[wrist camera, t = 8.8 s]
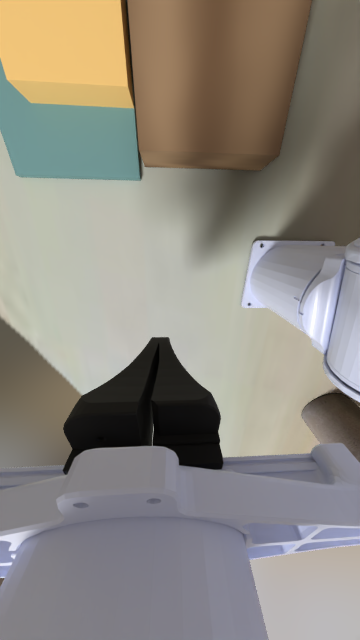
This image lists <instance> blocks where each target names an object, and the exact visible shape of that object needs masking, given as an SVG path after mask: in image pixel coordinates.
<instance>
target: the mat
mask: <svg viewBox="0 0 360 640" xmlns="http://www.w3.org/2000/svg"><path fill="white" fill-rule="evenodd" d="M126 11H127V0H126ZM127 24H128V12H127ZM128 37H129V25H128ZM129 50H130V38H129ZM130 63H131V50H130ZM131 75H132V63H131ZM132 88H133V76H132ZM133 101H134V89H133ZM0 130H1V133H2V136H3V139H4V142H5V145H6V147H7V150H8V153H9V156H10V159H11V162H12V165H13V168H14V170H15V173H16V175H17V176H19V177H33V178H69V179H104V180H140V181H141V178H140V165H139V153H138V140H137V127H136V114H135V102H134V108H117V107H97V106H78V105H59V104H40V103H30V102H29V101H28V100H27V99H26V98H25V97H24V96H23V95H22V94H21V93H20V92H19V91H18V90H17V89H16V88H15V87H14V86H13V85H12V84H11V83H10V82H9V81H8V80H7V78H6V75H5V72H4V69H3V65H2V62H1V59H0Z"/></svg>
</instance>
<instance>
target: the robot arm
mask: <svg viewBox="0 0 360 640" xmlns="http://www.w3.org/2000/svg"><path fill="white" fill-rule="evenodd" d="M261 243H262V244H263V246H262V247H260V244H261ZM321 244H322V246H321ZM248 303H250V304H249V305H247V304H248ZM241 306H242V307H243V308H269V309H271V310H272V311H274V312H275V313H276V314H278V315H279V316H281V317H282V318H284V319H285V320H287V321H288V322H289V323H291V324H292V325H294V326H295V327H297V328H298V329H300V330H301V331H303V332H304V333H305V334H307V335H308V336H309V337H310V338H311V340H312V346H313V347H315V348H316V349H317V350H319V351H320V352H322V353H323V354H325V355H324V358H323V369H324V371H325V374H326V375H327V377H328V378H329V379H330V380H331V382H332V383H333V384H334V385H335V386H336V387H338V388H339V389H340V390H341V391H342V392H344V393H345V394H347V395H348V396H350V397H351V398H353V399H355V400H356V401H358V402H360V237H359V238H358V239H356V240H354V241H352V242H351V243H349V244H348V245H347V246H335V242H333V241H269V240H257V241H255V242H254V243H253V244H252V249H251V254H250V259H249V264H248V269H247V275H246V280H245V285H244V290H243V295H242V301H241ZM220 420H221V416H220V412H219V409H218V407H217V404H216V402H215V400H214V398H213V396H212V394H211V393H210V392H209V391H208V390H206V389H205V388H204V387H202V386H201V385H200V384H199V383H198V382H197V381H195V379H194V378H193V377H192V376H191V375H190V374H189V373H188V372H187V371H186V370H185V369H184V367H183V366H182V365H181V363H180V362H179V360H178V358H177V357H176V355H175V353H174V351H173V349H172V347H171V344H170V340H169V338H168V337H152V338H151V340H150V341H149V343H148V344H147V345H146V347H145V348H144V349H143V351H142V352H141V353H140V354H139V355H138V356H137V357H136V359H135V360H134V361H133V362H132V363H131V364H130V365H129V366H127V367H126V368H125V369H124V370H123V371H121V372H120V373H119V374H118V375H116V376H115V377H114V378H112V379H111V380H109V381H108V382H106V383H104V384H103V385H101V386H99V387H98V388H96V389H94V390H92V391H90V392H88V393H87V394H85V395H83V396H81V398H80V399H79V401H78V402H77V404H76V405H75V407H74V408H73V410H72V412H71V414H70V415H69V417H68V418H67V420H66V422H65V424H64V428H63V430H64V433H65V435H66V437H67V439H68V441H69V443H70V445H71V447H72V452H71V454H70V456H69V458H68V460H67V462H66V464H65V465H57V466H36V467H16V468H15V467H14V468H0V578H5V579H4V581H3V583H2V585H1V587H0V640H268V636H267V631H266V627H265V623H264V619H263V615H262V611H261V607H260V603H259V598H258V595H257V590H256V586H255V582H254V578H253V574H252V570H251V565H250V561H249V560H253V559H260V558H266V557H273V556H279V555H286V554H293V553H299V552H306V551H312V550H320V549H327V548H336V547H344V546H353V545H360V463H359V462H358V460H357V459H356V458H355V457H354V456H353V454H352V453H351V452H350V451H349V450H348V449H347V447H346V446H345V445H344V444H342V443H329V444H319V445H316V446H315V447H314V448H313V449H312V451H311V453H309V454H288V455H267V456H246V457H225V458H223V457H222V453H221V449H220V445H219V443H220V438H219V434H218V430H219V425H220ZM153 424H154V433H153ZM152 436H153V446H152Z"/></svg>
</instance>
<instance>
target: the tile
mask: <svg viewBox="0 0 360 640" xmlns="http://www.w3.org/2000/svg"><path fill="white" fill-rule="evenodd" d="M0 59H1V62H2V65H3V69H4V72H5V75H6V78H7V80H8V81H9V82H10V83H11V84H12V85H13V86H14V87H15V88H16V89H17V90H18V91H19V92H20V93H21V94H22V95H23V96H24V97H25V98H26V99H27V100H28V101H29V102H30V103H40V104H59V105H78V106H97V107H117V108H134V101H133V88H132V75H131V63H130V50H129V37H128V24H127V11H126V0H0Z"/></svg>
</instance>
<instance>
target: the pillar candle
mask: <svg viewBox="0 0 360 640" xmlns="http://www.w3.org/2000/svg"><path fill="white" fill-rule="evenodd" d="M302 418H303V420H304V421H305V423H306V424H307V426H308V427H309V428H310V430H311V431H312V433H313V434H314V435H315V437H316V438H317V440H318V441H319V442H320V444H329V443H342V444H344V445H345V446H346V447H347V449H348V450H349V451H350V452H351V453H352V454H353V456H354V457H355V458H356V459H357V460H358V462H359V463H360V408H359V407H358V406H357V405H356V404H355V403H354V402H352V401H351V400H350V398H349V397H348V396H346V395H344V394H338V393H335V394H329V395H324V396H321V397H319V398H316V399H315V400H313V401H311V402H310V403H309V404H308V405H306V406H305V408H304V409H303V411H302Z"/></svg>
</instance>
